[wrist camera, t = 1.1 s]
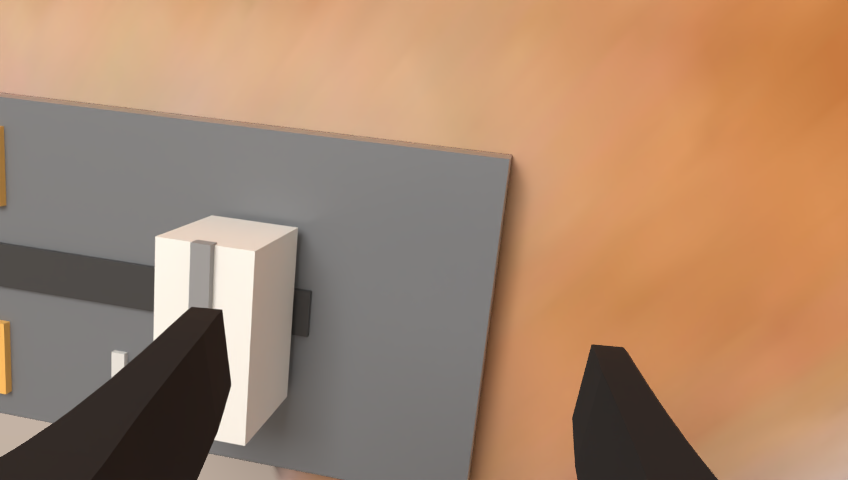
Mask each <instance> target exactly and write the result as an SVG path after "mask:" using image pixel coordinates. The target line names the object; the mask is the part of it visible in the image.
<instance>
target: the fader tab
mask: <svg viewBox="0 0 848 480" xmlns="http://www.w3.org/2000/svg"><path fill="white" fill-rule="evenodd" d="M297 237H298V227H291V226H284V225H277V224H270V223H263V222H256V221H249V220H242V219H235V218H228V217H221V216H214V215H211V216H209V217H206V218H203V219H201V220H198V221H195V222H193V223H190V224H187V225H185V226H182V227H179V228H177V229H174V230H171V231H169V232H166V233H163V234H161V235H158V236H155V282H154V336H153V341H154V340H155V339H156V338H157V337H158V336H159V335H160V334H162V333H163V332H164V331H165V330H166V329H167V328H168V327H169V326H170V325H171V324H172V323H174V322H175V321H176V320H177V319H178V318H179V317H180V316H181V315H182V314H183V313H185V312H186V311H187V310H188V309H189V308H191V307H200V308H211V309H221V310H222V311H223V319H224V328H225V336H226V344H227V352H228V361H229V369H230V377H231V388H230V392H229V395H228V399H227V402H226V406H225V410H224V413H223V416H222V419H221V423H220V426H219V429H218V432H217V435H216V437H215V439H214V440H216V441H222V442H227V443H232V444H237V445H243V446H245V445H246V444H247V443H248V442H249V441H250V439H251V438H252V437H253V436H254V435H255V434H256V432H257V431H258V430H259V429H260V428H261V427H262V425H263V424H264V423H265V422H266V421H267V420H268V418H269V417H270V416H271V415H272V414H273V413H274V411H275V410H276V409H277V408H278V407H279V405H280V404H281V403H282V402H283V401H284V400H285V398H286V397H287V390H288V375H289V360H290V344H291V329H292V314H293V298H294V283H295V268H296V252H297Z"/></svg>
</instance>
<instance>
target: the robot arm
mask: <svg viewBox="0 0 848 480" xmlns="http://www.w3.org/2000/svg"><path fill="white" fill-rule="evenodd" d="M230 388H231V377H230V369H229V361H228V352H227V344H226V336H225V328H224V319H223V311H222V310H221V309H211V308H200V307H191V308H189V309H188V310H187V311H186V312H185V313H183V314H182V315H181V316H180V317H179V318H178V319H177V320H176V321H175V322H174V323H172V324H171V325H170V326H169V327H168V328H167V329H166V330H165V331H164V332H163V333H162V334H160V335H159V336H158V337H157V338H156V339H155V340H154V341H153V342H152V343H151V344H150V345H148V346H147V347H146V348H145V349H144V350H143V351H142V352H141V353H140V354H138V355H137V356H136V357H135V358H134V359H133V360H131V361H130V362H129V363H128V364H127V365H126V366H125V367H123V368H122V369H121V370H120V371H119V372H118V373H116V374H115V375H114V376H113V377H112V378H111V379H109V380H108V381H107V382H106V383H105V384H103V385H102V386H101V387H100V388H98V389H97V390H96V391H95V392H93V393H92V394H91V395H89V396H88V397H87V398H86V399H84V400H83V401H82V402H81V403H79V404H78V405H77V406H76V407H74V408H73V409H72V410H70V411H69V412H68V413H66V414H65V415H64V416H62V417H61V418H59V419H58V420H57V421H55V422H54V423H53V424H51V425H50V426H48V427H47V428H45V429H44V430H42V431H41V432H39V433H38V434H37V435H35V436H34V437H32V438H31V439H29V440H28V441H26V442H25V443H23V444H21V445H20V446H18V447H17V448H15V449H14V450H12V451H10V452H8V453H7V454H5V455H3V456H2V457H0V480H197V478H198V476H199V474H200V471H201V469H202V467H203V465H204V462H205V460H206V458H207V455H208V453H209V451H210V449H211V446H212V444H213V442H214V439H215V437H216V435H217V432H218V429H219V426H220V423H221V419H222V416H223V413H224V410H225V406H226V402H227V399H228V395H229V392H230ZM572 420H573V439H574V455H575V468H576V473H577V479H578V480H718V479H717V478H716V477H715V476H714V474H713V473H712V472H711V471H710V469H709V468H708V467H707V466H706V464H705V463H704V462H703V461H702V459H701V458H700V457H699V456H698V454H697V453H696V452H695V450H694V449H693V448H692V447H691V445H690V444H689V443H688V441H687V440H686V439H685V437H684V436H683V434H682V433H681V432H680V430H679V429H678V427H677V426H676V425H675V423H674V422H673V421H672V419H671V418H670V416H669V415H668V414H667V412H666V411H665V409H664V408H663V406H662V405H661V403H660V402H659V400H658V399H657V397H656V396H655V394H654V393H653V391H652V390H651V388H650V387H649V385H648V384H647V382H646V381H645V379H644V378H643V376H642V375H641V373H640V371H639V370H638V368H637V367H636V365H635V363H634V362H633V360H632V359H631V357H630V356H629V354H628V352H627V351H626V350H625V349H624V347H614V346H603V345H591V349H590V353H589V357H588V361H587V364H586V368H585V372H584V376H583V380H582V383H581V387H580V391H579V395H578V399H577V402H576V406H575V410H574V414H573V418H572Z"/></svg>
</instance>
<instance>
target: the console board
mask: <svg viewBox="0 0 848 480" xmlns="http://www.w3.org/2000/svg"><path fill="white" fill-rule="evenodd" d="M511 160H512V155H509V154H501V153H493V152H485V151H477V150H468V149H460V148H452V147H444V146H435V145H427V144H419V143H411V142H403V141H394V140H386V139H378V138H370V137H361V136H353V135H345V134H337V133H329V132H320V131H312V130H304V129H296V128H287V127H279V126H271V125H263V124H255V123H246V122H238V121H230V120H222V119H213V118H205V117H197V116H189V115H181V114H172V113H164V112H156V111H148V110H139V109H131V108H123V107H115V106H107V105H98V104H90V103H82V102H74V101H65V100H57V99H49V98H41V97H33V96H24V95H16V94H8V93H0V413H5V414H10V415H14V416H20V417H25V418H30V419H35V420H40V421H45V422H50V423H54V422H55V421H57V420H58V419H59V418H61V417H62V416H64V415H65V414H66V413H68V412H69V411H70V410H72V409H73V408H74V407H76V406H77V405H78V404H79V403H81V402H82V401H83V400H84V399H86V398H87V397H88V396H89V395H91V394H92V393H93V392H95V391H96V390H97V389H98V388H100V387H101V386H102V385H103V384H105V383H106V382H107V381H108V380H109V379H111V378H112V377H113V376H114V375H115V374H116V373H118V372H119V371H120V370H121V369H122V368H123V367H125V366H126V365H127V364H128V363H129V362H130V361H131V360H133V359H134V358H135V357H136V356H137V355H138V354H140V353H141V352H142V351H143V350H144V349H145V348H146V347H147V346H148V345H150V344H151V343H152V342H153V336H154V282H155V236H158V235H161V234H163V233H166V232H169V231H171V230H174V229H177V228H179V227H182V226H185V225H187V224H190V223H193V222H195V221H198V220H201V219H203V218H206V217H209V216H211V215H214V216H221V217H228V218H235V219H242V220H249V221H256V222H263V223H270V224H277V225H284V226H291V227H298V237H297V252H296V268H295V283H294V298H293V314H292V329H291V344H290V360H289V375H288V390H287V397H286V398H285V400H284V401H283V402H282V403H281V404H280V405H279V407H278V408H277V409H276V410H275V411H274V413H273V414H272V415H271V416H270V417H269V418H268V420H267V421H266V422H265V423H264V424H263V425H262V427H261V428H260V429H259V430H258V431H257V432H256V434H255V435H254V436H253V437H252V438H251V439H250V441H249V442H248V443H247V444H246V445H245V446H243V445H237V444H232V443H227V442H222V441H216V440H214V442H213V444H212V446H211V449H210V451H209V454H214V455H220V456H225V457H230V458H235V459H240V460H246V461H251V462H255V463H260V464H266V465H271V466H276V467H281V468H286V469H291V470H296V471H301V472H307V473H312V474H317V475H322V476H327V477H332V478H337V479H342V480H469V477H470V470H471V462H472V455H473V447H474V440H475V432H476V425H477V417H478V409H479V402H480V394H481V387H482V379H483V372H484V364H485V357H486V349H487V341H488V334H489V326H490V319H491V311H492V304H493V296H494V289H495V281H496V274H497V266H498V258H499V251H500V243H501V236H502V228H503V221H504V213H505V206H506V198H507V191H508V183H509V175H510V168H511Z"/></svg>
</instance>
